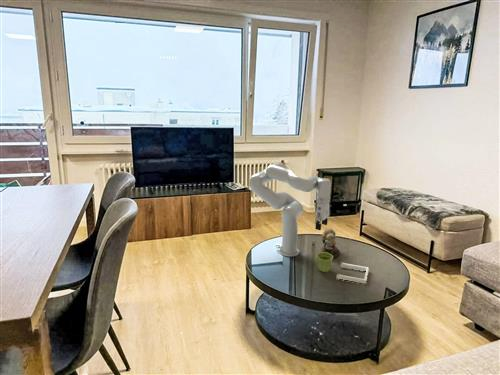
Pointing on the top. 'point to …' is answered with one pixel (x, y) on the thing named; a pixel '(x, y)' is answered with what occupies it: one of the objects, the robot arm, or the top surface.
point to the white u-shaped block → (354, 267)
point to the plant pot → (324, 261)
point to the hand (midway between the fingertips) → (321, 227)
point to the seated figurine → (329, 242)
